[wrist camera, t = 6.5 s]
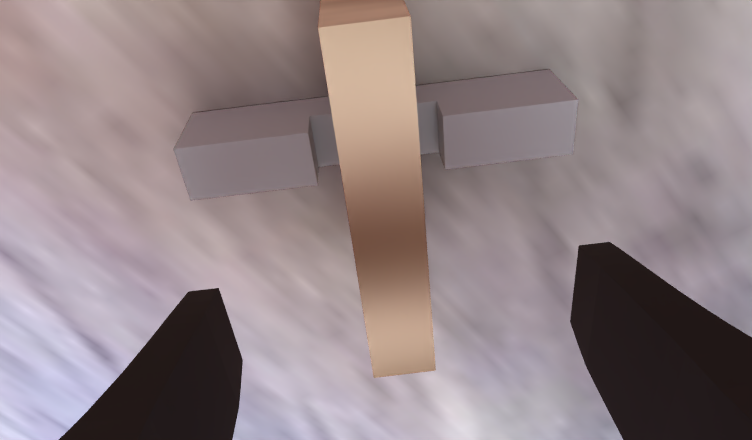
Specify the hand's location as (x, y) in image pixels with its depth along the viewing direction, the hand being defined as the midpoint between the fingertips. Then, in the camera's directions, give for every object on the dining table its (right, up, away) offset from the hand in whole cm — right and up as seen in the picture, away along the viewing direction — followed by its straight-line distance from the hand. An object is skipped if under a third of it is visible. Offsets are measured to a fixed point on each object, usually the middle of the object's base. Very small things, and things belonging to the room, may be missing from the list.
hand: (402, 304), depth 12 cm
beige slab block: (-1, +5, +8) cm, 10 cm away
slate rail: (-1, +5, +8) cm, 10 cm away
